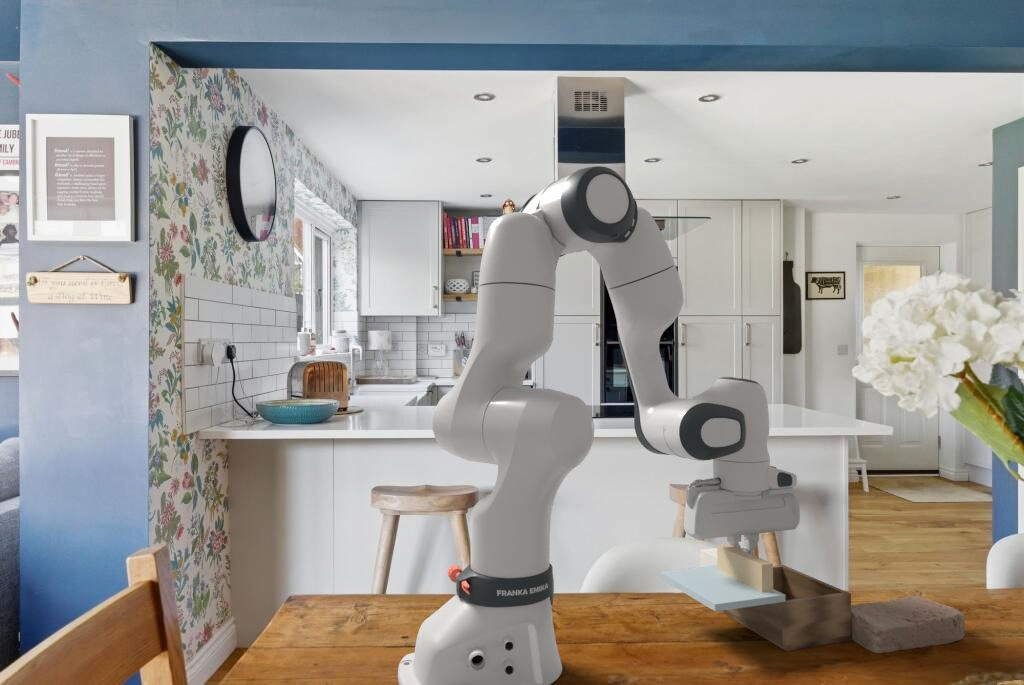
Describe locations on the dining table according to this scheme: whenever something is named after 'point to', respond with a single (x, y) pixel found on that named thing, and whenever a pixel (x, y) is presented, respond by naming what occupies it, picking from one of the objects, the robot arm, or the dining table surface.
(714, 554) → the block
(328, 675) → the dining table surface
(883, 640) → the brick
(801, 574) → the dark wood box
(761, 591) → the lid
